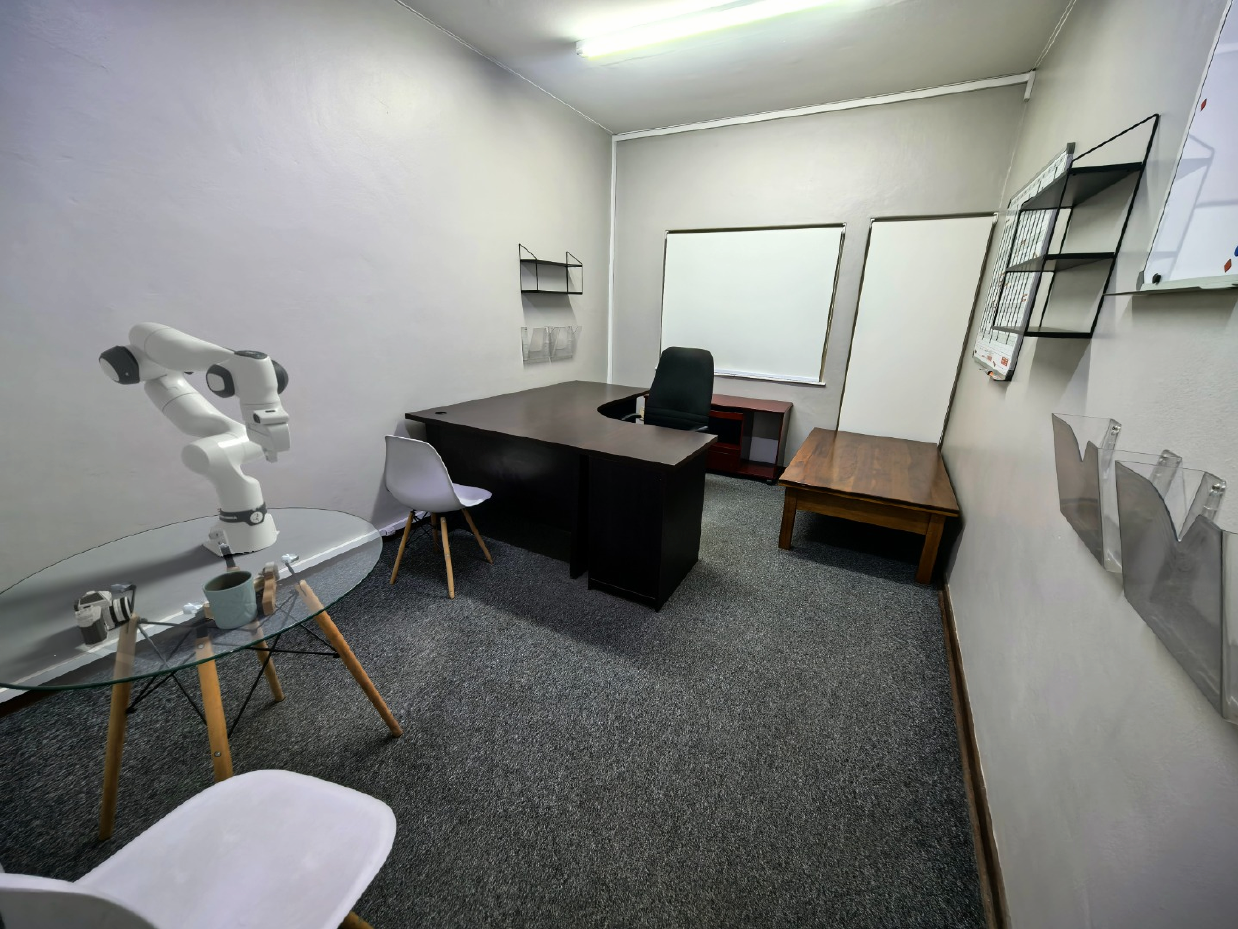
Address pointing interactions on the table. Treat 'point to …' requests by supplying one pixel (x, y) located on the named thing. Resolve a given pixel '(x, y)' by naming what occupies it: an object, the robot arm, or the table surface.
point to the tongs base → (258, 585)
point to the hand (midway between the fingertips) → (272, 461)
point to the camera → (100, 615)
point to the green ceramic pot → (231, 598)
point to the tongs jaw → (269, 590)
